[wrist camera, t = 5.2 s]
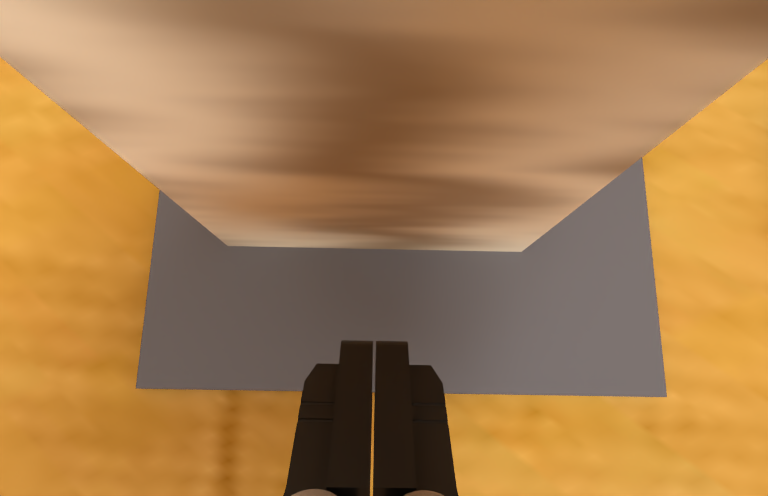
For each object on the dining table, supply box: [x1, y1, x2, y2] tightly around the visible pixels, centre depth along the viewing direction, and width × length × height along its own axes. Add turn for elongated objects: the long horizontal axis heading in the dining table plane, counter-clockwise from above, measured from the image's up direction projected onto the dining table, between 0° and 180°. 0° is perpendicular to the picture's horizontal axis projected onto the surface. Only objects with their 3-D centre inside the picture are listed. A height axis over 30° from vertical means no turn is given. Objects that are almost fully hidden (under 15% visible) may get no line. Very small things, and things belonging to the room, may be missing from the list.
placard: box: [0, 0, 768, 252], centre depth 11 cm, size 10×2×14 cm, turn 89°
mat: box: [136, 158, 667, 397], centre depth 19 cm, size 17×21×1 cm
